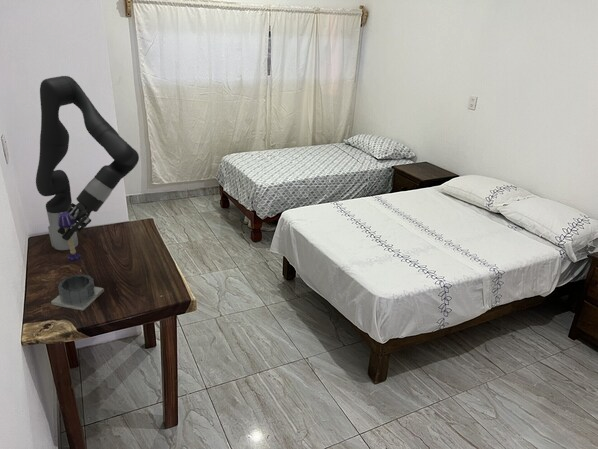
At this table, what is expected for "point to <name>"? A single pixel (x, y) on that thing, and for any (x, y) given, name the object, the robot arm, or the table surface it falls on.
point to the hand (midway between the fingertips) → (62, 236)
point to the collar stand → (77, 292)
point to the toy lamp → (65, 223)
